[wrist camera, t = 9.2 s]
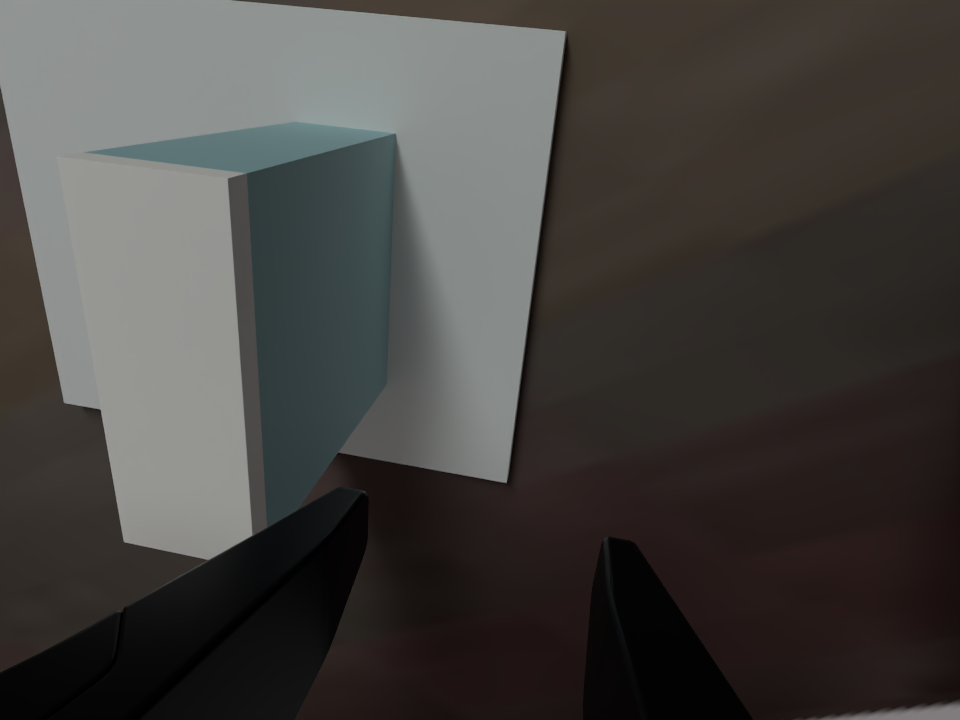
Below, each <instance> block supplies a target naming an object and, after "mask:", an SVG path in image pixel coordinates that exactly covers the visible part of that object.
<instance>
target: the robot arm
mask: <svg viewBox="0 0 960 720" xmlns="http://www.w3.org/2000/svg"><path fill="white" fill-rule="evenodd" d="M368 503H369V502H368V495H367V493H366V492H365V491H362V490H357V489H352V488H346V487H338V488H336V489H334V490H332V491H331V492H329V493H327V494H325V495H323V496H322V497H320V498H318V499H316V500H315V501H313V502H311V503H309V504H307V505H306V506H304V507H302V508H300V509H298V510H297V511H295V512H293V513H291V514H290V515H288V516H286V517H284V518H282V519H281V520H279V521H277V522H275V523H274V524H272V525H270V526H268V527H266V528H265V529H263V530H261V531H259V532H258V533H256V534H254V535H252V536H250V537H249V538H247V539H245V540H243V541H241V542H240V543H238V544H236V545H234V546H233V547H231V548H229V549H227V550H225V551H224V552H222V553H220V554H218V555H217V556H215V557H213V558H211V559H209V560H208V561H206V562H204V563H202V564H200V565H199V566H197V567H195V568H193V569H192V570H190V571H188V572H186V573H184V574H183V575H181V576H179V577H177V578H176V579H174V580H172V581H170V582H168V583H167V584H165V585H163V586H161V587H160V588H158V589H156V590H154V591H152V592H151V593H149V594H147V595H145V596H143V597H142V598H140V599H138V600H136V601H135V602H133V603H131V604H129V605H127V606H126V607H125V608H124V609H123V613H122V612H121V611H116V612H115V613H113V614H111V615H109V616H107V617H106V618H104V619H102V620H100V621H99V622H97V623H95V624H93V625H91V626H90V627H88V628H86V629H84V630H82V631H80V632H78V633H77V634H75V635H73V636H71V637H69V638H67V639H65V640H64V641H62V642H60V643H58V644H56V645H54V646H52V647H51V648H49V649H47V650H45V651H43V652H41V653H39V654H37V655H35V656H33V657H31V658H29V659H27V660H25V661H23V662H21V663H19V664H17V665H15V666H13V667H11V668H9V669H7V670H5V671H3V672H1V673H0V720H295V718H296V716H297V714H298V712H299V710H300V708H301V706H302V704H303V702H304V700H305V698H306V696H307V694H308V692H309V690H310V688H311V686H312V684H313V682H314V680H315V678H316V676H317V674H318V672H319V670H320V668H321V666H322V664H323V662H324V660H325V658H326V655H327V653H328V651H329V649H330V646H331V644H332V641H333V638H334V636H335V633H336V630H337V628H338V625H339V622H340V619H341V617H342V614H343V611H344V608H345V606H346V603H347V600H348V597H349V595H350V592H351V589H352V586H353V584H354V581H355V578H356V575H357V573H358V570H359V567H360V564H361V562H362V559H363V556H364V553H365V550H366V545H367V539H368ZM583 720H753V719H752V717H751V716H750V714H749V713H748V711H747V710H746V708H745V707H744V705H743V704H742V702H741V701H740V699H739V698H738V696H737V695H736V693H735V692H734V690H733V689H732V687H731V686H730V684H729V683H728V681H727V680H726V678H725V677H724V675H723V674H722V672H721V671H720V669H719V668H718V666H717V665H716V663H715V662H714V660H713V659H712V657H711V656H710V654H709V653H708V651H707V650H706V648H705V647H704V645H703V644H702V642H701V641H700V639H699V638H698V636H697V635H696V633H695V632H694V630H693V629H692V627H691V626H690V624H689V623H688V621H687V620H686V618H685V617H684V615H683V614H682V612H681V611H680V609H679V608H678V606H677V605H676V603H675V602H674V600H673V599H672V598H671V596H670V595H669V593H668V592H667V590H666V589H665V587H664V586H663V584H662V583H661V581H660V580H659V578H658V577H657V575H656V574H655V572H654V571H653V569H652V568H651V566H650V565H649V563H648V562H647V560H646V559H645V557H644V556H643V554H642V553H641V551H640V550H639V548H638V547H637V545H636V544H635V543H634V542H632V541H629V540H624V539H619V538H613V537H605V538H604V539H603V541H602V544H601V549H600V553H599V558H598V563H597V567H596V572H595V577H594V581H593V587H592V594H591V605H590V617H589V630H588V643H587V655H586V668H585V681H584V698H583Z"/></svg>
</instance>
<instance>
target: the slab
mask: <svg viewBox="0 0 960 720" xmlns="http://www.w3.org/2000/svg"><path fill="white" fill-rule="evenodd" d="M395 137H396V133H388V132H380V131H371V130H363V129H354V128H345V127H337V126H328V125H320V124H311V123H303V122H290V123H283V124H276V125H269V126H262V127H255V128H248V129H241V130H234V131H227V132H221V133H214V134H207V135H200V136H193V137H186V138H179V139H172V140H165V141H158V142H151V143H144V144H137V145H130V146H123V147H116V148H109V149H102V150H96V151H89V152H82V153H75V154H68V155H61V156H56V157H57V162H58V168H59V174H60V179H61V185H62V191H63V197H64V202H65V208H66V214H67V219H68V225H69V231H70V237H71V242H72V248H73V254H74V259H75V265H76V271H77V277H78V282H79V288H80V294H81V299H82V305H83V311H84V317H85V322H86V328H87V334H88V339H89V345H90V351H91V356H92V362H93V368H94V374H95V379H96V385H97V391H98V396H99V402H100V408H101V414H102V419H103V425H104V431H105V436H106V442H107V448H108V454H109V459H110V465H111V471H112V476H113V482H114V488H115V494H116V499H117V505H118V511H119V516H120V522H121V528H122V534H123V539H124V542H126V543H131V544H136V545H141V546H145V547H150V548H155V549H160V550H165V551H169V552H174V553H179V554H184V555H188V556H193V557H198V558H203V559H208V560H209V559H211V558H213V557H215V556H217V555H218V554H220V553H222V552H224V551H225V550H227V549H229V548H231V547H233V546H234V545H236V544H238V543H240V542H241V541H243V540H245V539H247V538H249V537H250V536H252V535H254V534H256V533H258V532H259V531H261V530H263V529H265V528H266V527H268V526H270V525H272V524H274V523H275V522H277V521H279V520H281V519H282V518H284V517H286V516H288V515H290V514H291V513H293V512H295V511H297V510H298V508H299V507H300V505H301V504H302V503H303V501H304V500H305V498H306V497H307V495H308V494H309V493H310V491H311V490H312V488H313V487H314V486H315V484H316V483H317V481H318V480H319V479H320V477H321V476H322V474H323V473H324V472H325V470H326V469H327V467H328V466H329V465H330V463H331V462H332V460H333V459H334V458H335V456H336V455H337V453H338V452H339V451H340V449H341V448H342V446H343V445H344V444H345V442H346V441H347V439H348V438H349V437H350V435H351V434H352V432H353V431H354V430H355V428H356V427H357V425H358V424H359V423H360V421H361V420H362V418H363V417H364V416H365V414H366V413H367V411H368V410H369V409H370V407H371V406H372V404H373V403H374V402H375V400H376V399H377V397H378V396H379V394H380V393H381V392H382V390H383V389H384V387H385V386H386V385H387V363H388V335H389V306H390V278H391V250H392V222H393V194H394V165H395Z"/></svg>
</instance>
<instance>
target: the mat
mask: <svg viewBox="0 0 960 720" xmlns="http://www.w3.org/2000/svg"><path fill="white" fill-rule="evenodd" d="M566 36H567V32H566V31H556V30H545V29H534V28H523V27H513V26H502V25H491V24H480V23H469V22H458V21H448V20H437V19H426V18H415V17H404V16H394V15H383V14H372V13H361V12H350V11H340V10H329V9H318V8H307V7H296V6H286V5H275V4H264V3H253V2H242V1H232V0H0V86H1V91H2V96H3V101H4V106H5V111H6V116H7V121H8V126H9V131H10V136H11V141H12V146H13V151H14V156H15V161H16V165H17V170H18V175H19V180H20V185H21V190H22V195H23V200H24V205H25V210H26V215H27V220H28V225H29V230H30V235H31V240H32V245H33V250H34V255H35V260H36V265H37V270H38V275H39V280H40V284H41V289H42V294H43V299H44V304H45V309H46V314H47V319H48V324H49V329H50V334H51V339H52V344H53V349H54V354H55V359H56V364H57V369H58V374H59V379H60V384H61V389H62V394H63V399H64V403H68V404H74V405H79V406H85V407H90V408H96V409H101V408H100V402H99V396H98V391H97V385H96V379H95V374H94V368H93V362H92V356H91V351H90V345H89V339H88V334H87V328H86V322H85V317H84V311H83V305H82V299H81V294H80V288H79V282H78V277H77V271H76V265H75V259H74V254H73V248H72V242H71V237H70V231H69V225H68V219H67V214H66V208H65V202H64V197H63V191H62V185H61V179H60V174H59V168H58V162H57V157H56V156H61V155H68V154H75V153H82V152H89V151H96V150H102V149H109V148H116V147H123V146H130V145H137V144H144V143H151V142H158V141H165V140H172V139H179V138H186V137H193V136H200V135H207V134H214V133H221V132H227V131H234V130H241V129H248V128H255V127H262V126H269V125H276V124H283V123H290V122H303V123H311V124H320V125H328V126H337V127H345V128H354V129H363V130H371V131H380V132H388V133H396V137H395V165H394V194H393V222H392V250H391V278H390V306H389V335H388V363H387V385H386V386H385V387H384V389H383V390H382V392H381V393H380V394H379V396H378V397H377V399H376V400H375V402H374V403H373V404H372V406H371V407H370V409H369V410H368V411H367V413H366V414H365V416H364V417H363V418H362V420H361V421H360V423H359V424H358V425H357V427H356V428H355V430H354V431H353V432H352V434H351V435H350V437H349V438H348V439H347V441H346V442H345V444H344V445H343V446H342V448H341V449H340V451H339V452H338V453H344V454H349V455H355V456H360V457H366V458H371V459H377V460H382V461H388V462H393V463H399V464H404V465H410V466H415V467H421V468H426V469H432V470H438V471H443V472H449V473H454V474H460V475H465V476H471V477H476V478H482V479H487V480H493V481H498V482H504V483H507V479H508V475H509V469H510V461H511V453H512V446H513V438H514V431H515V423H516V415H517V408H518V400H519V393H520V385H521V378H522V370H523V362H524V355H525V347H526V340H527V332H528V324H529V317H530V309H531V302H532V294H533V286H534V279H535V271H536V264H537V256H538V249H539V241H540V233H541V226H542V218H543V211H544V203H545V195H546V188H547V180H548V173H549V165H550V157H551V150H552V142H553V135H554V127H555V119H556V112H557V104H558V97H559V89H560V82H561V74H562V66H563V59H564V51H565V44H566Z"/></svg>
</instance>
